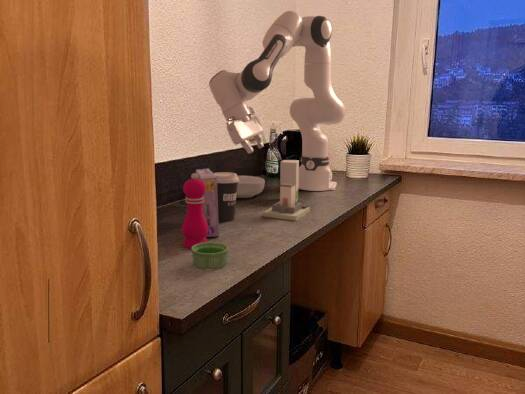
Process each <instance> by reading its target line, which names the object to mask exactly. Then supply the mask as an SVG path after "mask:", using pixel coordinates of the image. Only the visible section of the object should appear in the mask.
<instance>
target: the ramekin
mask: <svg viewBox="0 0 525 394" xmlns="http://www.w3.org/2000/svg"><path fill="white" fill-rule="evenodd" d="M190 249H191V252H192V262H193V266H194V267H195V268H197V269H199V268H200V270H205V269H214V270H218V269H217V268H219V269H221V267H222V268H224V267H225V266H226V265H227V261H228V260H227V259H228V251H229V249H230V248H229V246H228V245H227V244H225V243H221V242H215V241H207V242H204V243H199V244H196V245H194V246H192V248H190ZM223 266H224V267H223Z"/></svg>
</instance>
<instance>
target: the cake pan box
mask: <svg viewBox="0 0 525 394" xmlns="http://www.w3.org/2000/svg"><path fill="white" fill-rule="evenodd" d="M195 173H196V174H197V175H198V178H197V179H200V180H202V181H203V182H204V184H205V186H206V191H205V193H204V194H203V197H204V202H203V203H202V212H203V215H204V218H205V220H206V222H207V225H208V233H207V235H206V236H205V238H219V236H220V232H219V231H220V228H219V225H220V223H219V222H220V221H218V194H217V178H216V177H215V176H214V174H213V173H214V172H213V171H211V169H210V168H201V169H196V170H195Z"/></svg>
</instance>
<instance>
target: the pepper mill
mask: <svg viewBox="0 0 525 394" xmlns="http://www.w3.org/2000/svg"><path fill="white" fill-rule="evenodd" d="M197 178H198V175H197V174H196V172H193V173H192V174H191V176H190V179H188V180H186V181H185V182H184V183H183V188H182V190H183V194H185V198H184V199H185V203H186V207H187V211H186V215H185V217H184V220H183V223H182V225H181V233H182V235H183V236H184V238H183V247H184V248H187V249H191V248H192V246H194V245H196V244H199V243H204V242H208V239H207V237H205V236H206V235H207V233H208V225H207V222H206V220H205V218H204V215H203V212H202V203H203V202H204V197H203V194H204V193H205V191H206V186H205V184H204V182H203V181H202V180H200V179H197Z"/></svg>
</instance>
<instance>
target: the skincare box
mask: <svg viewBox="0 0 525 394" xmlns="http://www.w3.org/2000/svg"><path fill="white" fill-rule="evenodd" d="M279 167H280V168H279V169H280V170H279V171H280V176H279V177H280V181H279V182H280V183H279V185H280V184H283V183H294V184H295V202H297V201H298V199H299V188H298V183H299V167H300V160H297V159H283V160H281V161H280V166H279Z"/></svg>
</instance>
